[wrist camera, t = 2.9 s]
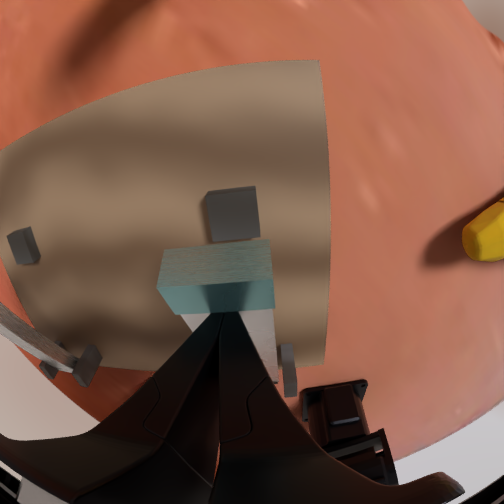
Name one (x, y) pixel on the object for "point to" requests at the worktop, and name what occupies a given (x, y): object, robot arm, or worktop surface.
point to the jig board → (170, 210)
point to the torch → (486, 234)
